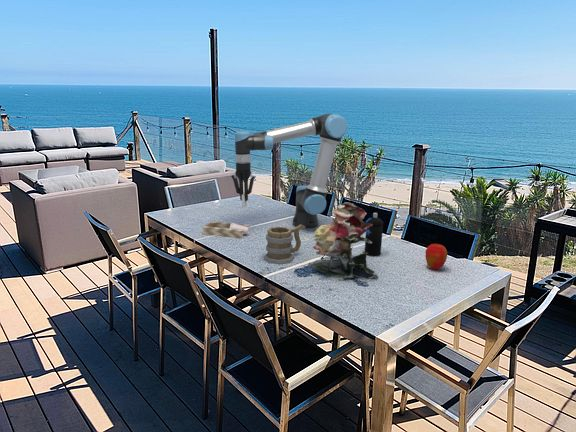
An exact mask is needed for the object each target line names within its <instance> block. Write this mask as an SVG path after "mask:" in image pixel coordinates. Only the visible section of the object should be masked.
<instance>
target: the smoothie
mask: <svg viewBox="0 0 576 432" xmlns="http://www.w3.org/2000/svg"><path fill="white" fill-rule="evenodd" d="M230 223H231V225H230V229H238V230H243V235H249V234H250V231H251V230H250V226H249V227H245V226H242V225H238V224H239V223H235V224H234V222H230Z"/></svg>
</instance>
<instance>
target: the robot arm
mask: <svg viewBox="0 0 576 432" xmlns="http://www.w3.org/2000/svg"><path fill="white" fill-rule="evenodd" d="M347 131H348V122H347V120H346V119H345V117H343V116H342V115H340V114H336V113H325V114H321V115H319V116H316V117H312V118H310V119H309V120H308V121H303V122H300V123H295V124H294V123H293V124H291V125H290V124H289V125H287V126H281V127H278V128H274V129H268V130H265V131H260V132H254V133H252V134H251V133H250V132H249V131H244V130H243V131H242V130H241V131H235V135H234V146H235V148H234V150H235V172H234V173H233V174H232V175H231V176H230V177H231V179H232V180H233V184H234V188H235V191H236V194H239V199H240V200H239V201H241V207H242V208H246V207H247V205H248V204H247V201H248V200H249V195H250V194H251V193H252V192H253V187H254V182H255V180H256V177H257V176H256V175H253V174H252V171H251V170H252V167H251V166H252V165H251V151H272V150H273V148H274V144H277V143H282V142H287V141H289V140H290V141H291V140H294V139H298V138H303V137H308V136H313V137H315V136H319V139H320V145H319V148H318V153H317V156H316V160H315V163H314V167H313V171H312V175H311V179H310V182H309V184H308V185H298V186H296V191H295V193H296V194H295V195H296V196H295V213H294V215H293V219H292V226H294V227H297V226H299V225H300V224H301V225H303V226H305V229H312V228H316V227H318V226H319V219H318V215H320V214H322V213H323V212H324V211H325V210H326V208H327V200H326V196H327V193H328V191H327V188H326V186H327V182H328V178H329V175H330V172H331V167H332V164H333V161H334V156H335V153H336V149H337V146H338V145H340V143H342V138H343V137H344V136H345V135H346V133H347ZM249 178H250V180H249Z"/></svg>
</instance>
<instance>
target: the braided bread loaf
mask: <svg viewBox="0 0 576 432" xmlns="http://www.w3.org/2000/svg"><path fill="white" fill-rule="evenodd" d="M231 223H232V222H221V221H214V220H213V221H211V222H209V223H207V224H206V225H204V226H202V235H206V236H215V237H224V238H226V237H227V238H234V239H243V237H244V234H243V230H238V229H230V225H231ZM233 223H234V222H233ZM234 224H236V223H234ZM237 224H238V225H242V226H245V227H249V228H250V224H244V223H243V224H242V223H237Z"/></svg>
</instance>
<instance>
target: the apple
mask: <svg viewBox="0 0 576 432" xmlns="http://www.w3.org/2000/svg"><path fill="white" fill-rule="evenodd" d="M447 258H448V250H447V249H446V246H444V245H442V244H439V243H431V244H430V245H428V246H427V247H426V249H425V261H426V264H427V267H428V268H429V269H430V270H433V271H436V270H439V269H441V268H443V267H444V266H445V263H446V262H447Z"/></svg>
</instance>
